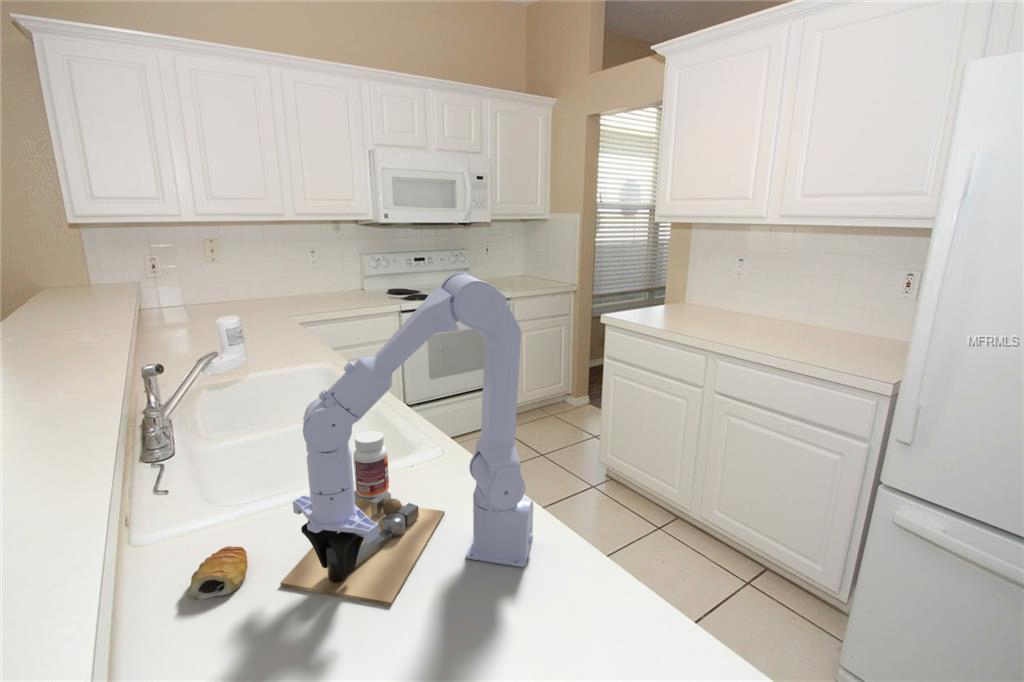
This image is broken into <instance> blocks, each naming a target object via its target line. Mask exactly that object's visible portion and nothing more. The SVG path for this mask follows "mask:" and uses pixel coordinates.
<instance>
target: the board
mask: <svg viewBox="0 0 1024 682" xmlns="http://www.w3.org/2000/svg"><path fill="white" fill-rule="evenodd" d="M355 505H356V506H357V507H358V508H359V509H360V510H361V511H362V512H363V513H364V514H365V515H366V516H367V517H368V518H369V519H371V520H372V521H374V522H375V523H378V524H379V532H381V531H382V530H383V519H384V517H385V516H386V515H385V514H383V515H382V516H380V517H379V518H375V517H372V516H371V500H366V499H359V498H355ZM404 506H405V505H403V504H402V508H403V507H404ZM418 513H419V518H417V519H416V520H415V521H414V522H412V523H411V524H410V525H409V526H406V531H405V533H404V534H403V535H402V536H400V537H397V538H392V539H390V540H389V541H388V542H387V543H385V544H384V545H383V546H382V547H380V548H379V549H378V550H377V551H375V552H374V553H373V554H372V555H371V556H369V557H368V558H367V559H366V560H364V561H363V562H362V563H361V564H359V565H358V566H357V567H356V568H355V570H354V571H352V572H351V573H350V574H349V575H348V577H347V578H346V579H345V580H343V581H341V582H331V581H329V579H328V570H327V568H326V569H325V568H323V567H322V565H321V563H320V561H319V558H318V556H317V554H316V551H315V549H314V547H313V546H312V548H310V550H308V552H307V553H306V554H305V555H304V556H303V558H301V560H299V562H297V564H296V565H295V566H294V567H293V568H292V569H291V570H290V572H289V573H288V574H287V575H286V576H285V577H283V579H282V581H280V587H282V588H289V589H295V590H299V591H303V592H304V591H306V592H311V593H316V594H322V595H327V596H334V597H338V598H344V599H350V600H355V601H361V602H367V603H370V604H371V603H372V604H378V605H383V606H387V607H388V606H389V607H392V606H393V605H394V603H395V600H396V599H397V597H398V596H399V594H400V593H401V590H402V588H403V587H404V585H405V584H406V581H407V580H408V579H409V577H410V575H411V573H412V571H413V570H414V568H415V567H416V564H417V563H416V562H418V561H419V560H420V558H421V556H422V554H423V552H424V551H425V549H426V547H427V545H428V544H429V541H430V540H431V538H432V537H433V535H434V533H435V531H436V530H437V528H438V526H439V525H440V523H441V521H442V519H443V517H444V516H445V510H441V509H440V510H438V509H432V508H425V507H418ZM338 533H339V531H337V534H338ZM365 543H366V542H364V540H363V542H362V544H361V546H362V545H364V544H365ZM427 543H428V544H427ZM423 550H424V551H423ZM419 557H420V558H419Z"/></svg>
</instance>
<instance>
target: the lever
mask: <svg viewBox="0 0 1024 682" xmlns="http://www.w3.org/2000/svg"><path fill="white" fill-rule="evenodd" d="M418 508H419V505H416V504H413V503H411V502H408V503H407V504H406V505H404V507H403V508H402V509H400V510H399V511H398V513H392V514H389V515H387V516H385V517H384V519H383V530H382V531H381V532H379V536H378V537H377V538H376V539H375V540H373V541H372V542H371V543H369V544H368V543H365V544H364V545H362V546H361V547H360V549H359V553H358V556H357V561H356V566H355V568H356V567H357V566H358V565H359V564H361V563H362V562H363V561H364V560H366V559H367V558H368V557H369V556H371V555H372V554H373V553H374V552H375V551H377V550H378V549H379V548H380V547H382V546H383V545H384V544H385V543H387V542H388V541H389V540H390V539H392V538H397V537H400V536H402V535H403V534H404V533H405V531H406V526H409V525H410V524H411V523H412V522H414V521H415V520H416V519H417V518H419V513H418ZM325 548H326V559H327V570H328V579H329V581H331V582H341V581H343V580H345V579H346V578H347V577H348V576H346V577H342V576H341V574H340V572H339V567H338V560H337V556H336V554H335V551H334V549H333V547H332V546H331V544H330V543H329V541H328V542H327V543H326V545H325Z"/></svg>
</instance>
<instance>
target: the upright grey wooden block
mask: <svg viewBox="0 0 1024 682" xmlns="http://www.w3.org/2000/svg"><path fill="white" fill-rule="evenodd" d="M389 499H392V493H391V492H389V491H387V492H386V491H384V492H383V493H381V494H380V495H378V496H377V497H374V498H372V500H370V501H371V516H372V517H375V518H379V517H380V516H382V515H383V514H384V511H383V507H384V504H385V503H386V501H388V500H389Z"/></svg>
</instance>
